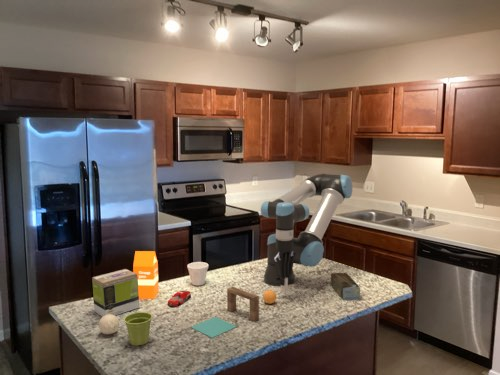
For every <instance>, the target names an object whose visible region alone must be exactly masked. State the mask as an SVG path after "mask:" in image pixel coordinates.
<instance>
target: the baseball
mask: <svg viewBox="0 0 500 375" xmlns="http://www.w3.org/2000/svg"><path fill="white" fill-rule="evenodd" d="M119 326H120V321H119V318H118V317H117V315H112V314H108V315H105V316H103V317H102V316H101V318H100V320H99V321H98V328H99V332H101V333H102V334H103V335H112V334H114V333H116V332H117V331H118V329H119Z"/></svg>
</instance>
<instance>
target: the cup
mask: <svg viewBox="0 0 500 375" xmlns="http://www.w3.org/2000/svg"><path fill="white" fill-rule="evenodd" d="M186 266H187V270H188V274H189V279H190V282H191V285H192V286H194V287H199V286H200V287H202V286H204V285H205V284H206V279H207V273H208V269H209V264H208V263H207V262H203V261H195V262H194V261H193V262H191V263H190V262H189V263H188V264H187V265H186Z"/></svg>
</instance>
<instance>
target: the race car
mask: <svg viewBox="0 0 500 375" xmlns="http://www.w3.org/2000/svg"><path fill="white" fill-rule="evenodd" d="M190 298H192V294H191V291H190V290H179V291H177V292H176V293H175V294H173V295H171V297H170V298H169V299H168V301H167V305H168V306H169V307H172V308H173V307H175V308H176V307H180V306H181V305H183V304H185V302H188V301H189V300H190Z"/></svg>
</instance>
